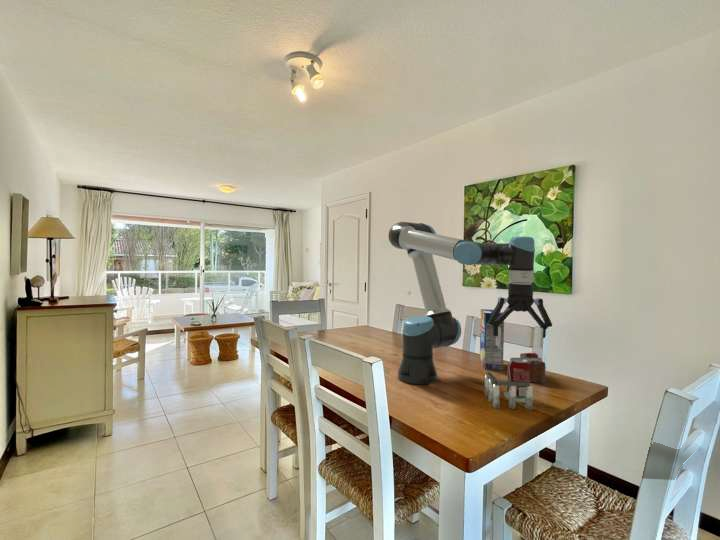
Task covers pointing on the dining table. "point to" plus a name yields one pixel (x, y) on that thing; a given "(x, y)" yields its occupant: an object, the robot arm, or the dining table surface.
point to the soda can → (518, 374)
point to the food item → (535, 367)
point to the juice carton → (490, 343)
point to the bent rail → (494, 391)
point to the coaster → (520, 400)
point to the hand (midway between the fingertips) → (518, 346)
